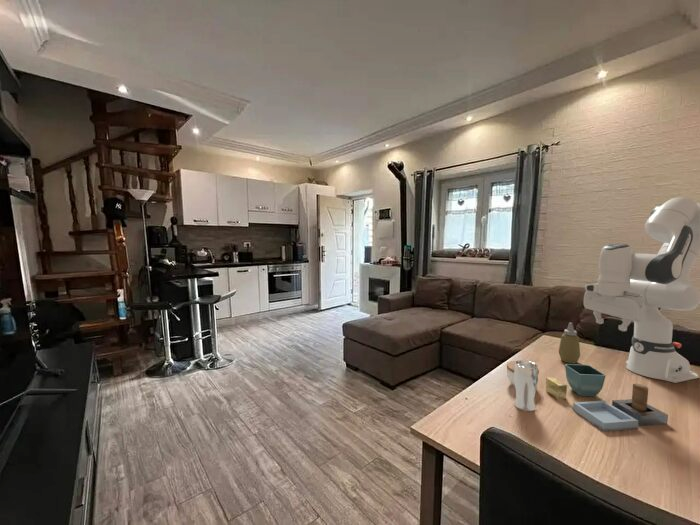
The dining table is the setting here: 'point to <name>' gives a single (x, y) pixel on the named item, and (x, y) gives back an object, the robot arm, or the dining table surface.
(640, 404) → the dowel
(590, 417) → the tray
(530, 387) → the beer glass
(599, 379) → the flower pot
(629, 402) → the socket block
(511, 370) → the lidded jar
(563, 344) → the squeeze bottle
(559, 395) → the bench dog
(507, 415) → the dining table surface
